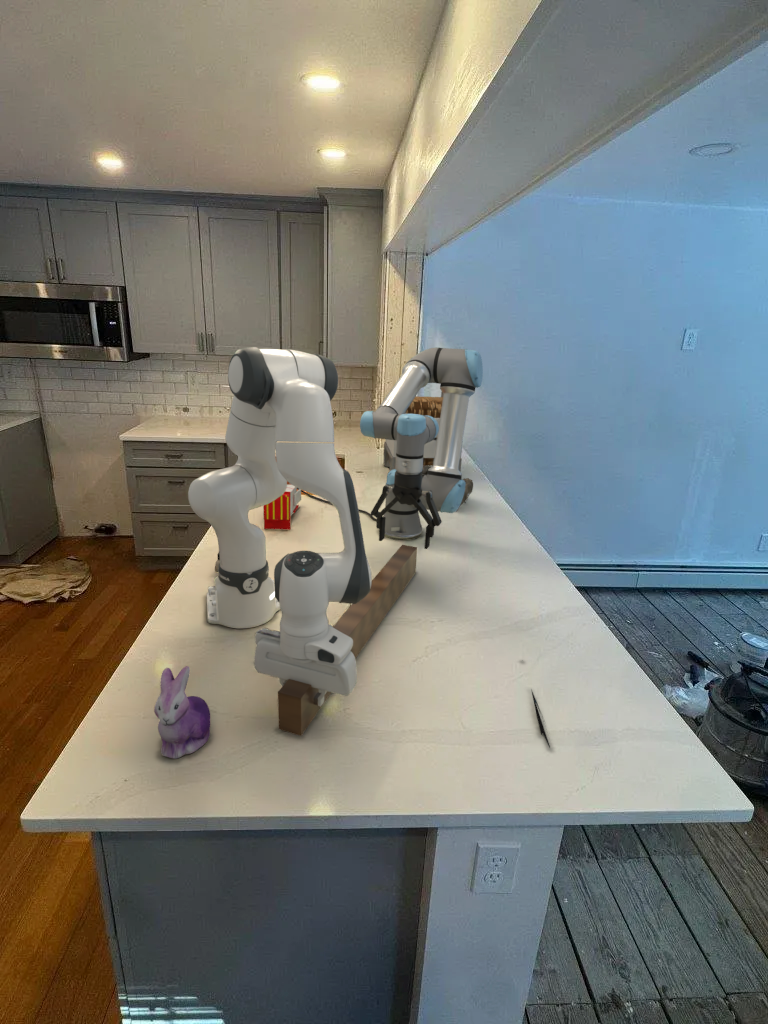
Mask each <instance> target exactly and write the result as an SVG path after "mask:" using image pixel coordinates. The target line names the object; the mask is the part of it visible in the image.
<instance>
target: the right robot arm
mask: <svg viewBox="0 0 768 1024" xmlns="http://www.w3.org/2000/svg"><path fill="white" fill-rule="evenodd" d="M483 367H484V366H483V359H482V356H481V353H480V352H479V351H478V350H473V349H468V348H451V347H450V348H449V347H430V348H427V349H424V350H421V351H420V352H418V353H417V354H415V355H413V356H412V357H411V358H410V359H408V360H407V362H406V363H405V364H404V366H403V367H402V370H401V375H400V377H399V378H398V379H397V381H396V382H395V384H394V385H393V386H392V388H391V389H390V390H389V392H388V393H387V395H386V396H385V397H384V399H383V401H382V402H381V403H380V404H379V406H378V407H377V408H376V410H375V411H374V410H366V411H364V412H363V413H362V415H361V417H360V421H359V428H360V429H359V430H360V432H361V434H362V435H363V436H364V437H368V438H373V439H380V440H385V439H388V440H396V441H397V445H396V463H395V469H393V470H391V471H390V470H389V472H388V473H387V475H386V482H385V485H384V486H383V487H382V489H381V490H382V491H381V494H380V496H379V498H378V499H377V501H376V502H375V504H374V506H373V508H372V510H371V512H369V511H366V510H363V509H359V508H358V510H359V513H364V514H367V515H368V516H369V517H370V518H371V519H372V520H373V521H375V522H376V529H377V530H378V541H379V542H382V541H383V540H384V539H385V538H387V539H389V540H395V541H410V540H415V539H418V538H420V537H421V536H422V535H423V525H422V524H421V518H420V515H421V517H422V518H423V520H424V521H425V523H426V524H427V525H426V526H425V534H424V535H425V537H424V549H425V550H428V549H429V548H430V545H431V544H430V543H431V539H432V538H433V537H434V535H435V529H436V527H439V526H440V525H441V524H442V522H443V521H442V519H441V516H440V513H447V514H453V513H456V512H457V511H458V510H459V508H460V507H461V506H460V504H461V502H462V499H463V496H464V492H465V485H466V483H465V481H464V480H463V479H462V477H463V474H462V473H461V472H462V471H461V472H460V471H459V469H458V467H459V460H460V454H461V455H462V453H461V447H462V448H463V443H462V441H463V442H464V433H465V428H466V427H465V426H466V421H467V415H468V409H469V401H470V398H471V397H472V396H473V395H474V394H476V389H477V388H481V386H482V382H483V377H484V369H483ZM428 384H439V385H440V386H439V389H440V391H441V392H443V394H444V395H443V402H442V408H441V415H440V422H439V425H438V423H437V421H436V420H435V418H433V417H432V416H428V415H425V416H424V415H419V414H404V413H405V412H406V410H407V409H408V407H409V405H410V404H411V402H412V401H413V399H414V398H415V397H417V395H418V394H419V392H420V390H421V389H422V388H423V389H424V387H426V386H427V385H428ZM437 434H438V435H437ZM436 436H437V442H436V448H435V455H434V461H433V466H432V465H431V466H429V468H428V469H427V472H426V474H424V473H422V472H423V470H424V466H423V455H424V445H425V444H426V443H428V442H431V441H432V440H433V439H434V438H435V437H436ZM298 490H299V488H297V491H298ZM301 493H303V494H304V495H306V496H308V497H310V498H313V499H314V500H318V501H321V502H323V503H327V504H330V505H333V504H332V503H330V502H329V501H327V500H326V499H324V498H321V497H318V496H316V495H313V494H311V493H309V492H306V491H304V490H301ZM384 502H385V504H384ZM383 504H384V505H385V507H384V508H383V509H382V510H381V511H379V510H380V508H381V507H382V505H383ZM459 506H460V507H459ZM419 514H420V515H419Z"/></svg>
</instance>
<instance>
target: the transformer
mask: <svg viewBox="0 0 768 1024" xmlns="http://www.w3.org/2000/svg"><path fill="white" fill-rule="evenodd" d="M440 393H441V394H440V396H417V395H416V396H415V398H414V399H413V401H412V402H411V404H410V405H409V407H408V409H407V410H406V412H405V413H404V414H419V415H424V416H425V415H428V416H432V417H433V418H435V420H436V421H437V423H438V425H439V422H440V415H441V408H442V402H443V395H444V394H443V392H442V391H441V392H440ZM437 435H438V434H437ZM436 442H437V436H436V437H435V438H434V439H433V440H432V441H431V442H428V443H426V444H425V445H424V455H423V467H432V466H433V461H434V455H435V448H436ZM463 442H464V440H463V441H462V444H463ZM396 445H397V441H396V440H388V439H384V442H383V466H384V467H388V468H389V472H390V471H391V470H393V469H395V463H396ZM462 453H463V446H462V447H461V454H460V460H459V467H458V469H459V471H460V472H462V461H463V460H462Z"/></svg>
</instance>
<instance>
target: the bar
mask: <svg viewBox="0 0 768 1024" xmlns="http://www.w3.org/2000/svg"><path fill="white" fill-rule="evenodd" d="M417 558H418V546H411V545H406V544H402V545H401V546H399V548H398V549H397V550H396V551H395V552H394V554H393V555H392V556H391V558H390V559H388V561H387V562H386V563H385V564H384V566H383V567H382V568H381V569H380V570H379V572H377V574H376V575H375V576H374V578H372V584H371V588H370V592H369V593H368V595H367V596H366V597H364V598H363V599H362V600H361V601H359V602H358V603H356V604H351V605H350V606H349V607H348V608H347V609H346V610H345V611H344V613H343V614H342V615H341V617H340V618H339V619H338V620H337V621H336V623H335V624H334V625H333V626H332V627H333V628H335V629H336V630H338V631H340V632H342V633H343V634H345V635H347V636H349V637H351V638H352V640H353V646H352V649H351V650H350V651H351V652H352V653H353V654H354V656H355V660H357V657H358V656H359V654H360V653H361V652H362V650H363V649H364V648H365V646H366V645H367V643H368V641H370V639H371V637H372V636H373V634H374V633H375V632H376V630H377V628H378V627H379V626H380V624H381V623H382V622H383V620H384V619H385V617H386V616H387V615H388V613H389V612H390V610H391V609H392V608H393V606H394V604H395V603H396V602H397V600H398V599H399V597H400V596H401V594H402V593H403V592H404V590H405V589H406V587H407V586H408V584H409V583H410V582H411V580H412V579H413V578H414V576H415V575H416V573H417V572H416V570H417V560H418V559H417ZM317 693H319V689H317V688H313V687H312V686H311V685H310V684H306V683H303V682H299V681H295V680H291V679H288V680H287V682H286V683H285V684H284V685H283V686H282V685H281V688H280V689H279V690H278V691H277V710H278V711H277V713H278V730H280V731H284V732H287V733H289V734H293V735H296V736H299V737H302V736H303V734H304V733H305V731H306V730H307V729H308V727H309V726H310V724H311V723H312V721H313V720H314V719H315V718H316V716H317V715H318V713H319V711H320V710H321V708H322V707H323V705H325V703H326V702H327V700H328V699H329V697H330V696H331V694H332V692H328V691H327V693H326V694H325V695H324V703H323V704H322V706H321V707H320V706H317V705H314V697H315V696H316V694H317Z"/></svg>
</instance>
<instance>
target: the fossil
mask: <svg viewBox="0 0 768 1024" xmlns="http://www.w3.org/2000/svg"><path fill="white" fill-rule="evenodd" d="M462 480H464V481H465V483H466V485H465V492H464V496H463V499H462V502H461V504H460V506H459V508H460V507H461V506H462V505H463V504H467V502H466V501H467V500H469V497H470V495H471V494H472V493H473V490H474V482H473V480H472V479H470V478H469V477H467V478H462Z"/></svg>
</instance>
